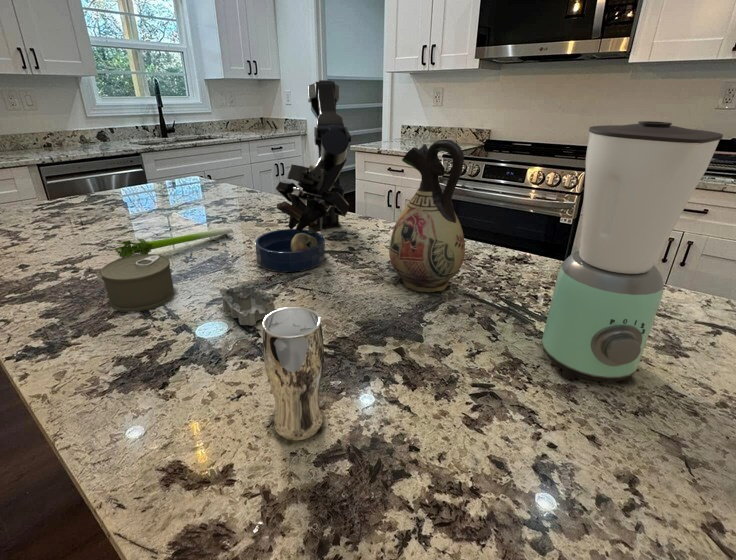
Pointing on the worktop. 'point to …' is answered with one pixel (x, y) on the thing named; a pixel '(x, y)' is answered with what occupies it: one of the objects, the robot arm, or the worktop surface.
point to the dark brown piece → (299, 216)
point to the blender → (622, 245)
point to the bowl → (288, 251)
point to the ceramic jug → (429, 223)
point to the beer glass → (294, 369)
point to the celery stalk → (165, 242)
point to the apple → (302, 242)
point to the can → (138, 282)
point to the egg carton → (247, 303)
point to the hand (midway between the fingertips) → (293, 229)
